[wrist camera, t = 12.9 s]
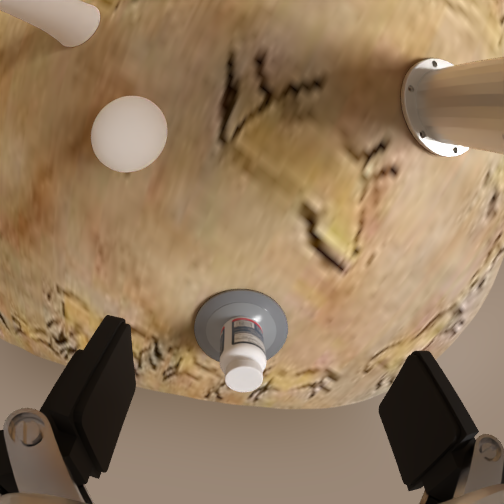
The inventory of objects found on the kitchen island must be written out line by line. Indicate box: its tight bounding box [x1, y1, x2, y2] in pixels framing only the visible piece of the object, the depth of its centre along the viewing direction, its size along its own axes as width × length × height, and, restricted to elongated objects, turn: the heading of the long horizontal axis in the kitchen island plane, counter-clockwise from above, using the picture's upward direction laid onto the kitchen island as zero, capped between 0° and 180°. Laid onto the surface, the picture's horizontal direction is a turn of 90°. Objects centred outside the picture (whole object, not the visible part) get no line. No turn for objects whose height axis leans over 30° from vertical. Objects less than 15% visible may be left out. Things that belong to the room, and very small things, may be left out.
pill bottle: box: [220, 316, 266, 392], centre depth 34 cm, size 5×5×9 cm
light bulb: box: [91, 96, 168, 172], centre depth 25 cm, size 7×7×11 cm
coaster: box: [194, 289, 288, 362], centre depth 39 cm, size 12×12×1 cm
